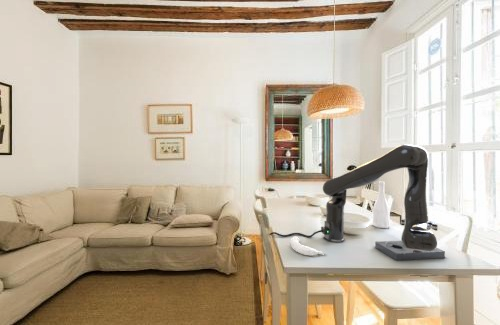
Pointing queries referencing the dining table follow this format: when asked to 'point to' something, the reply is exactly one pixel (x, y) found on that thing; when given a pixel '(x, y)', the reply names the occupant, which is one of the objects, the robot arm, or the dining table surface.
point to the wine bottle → (381, 208)
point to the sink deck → (406, 251)
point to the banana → (303, 248)
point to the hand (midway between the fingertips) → (418, 220)
